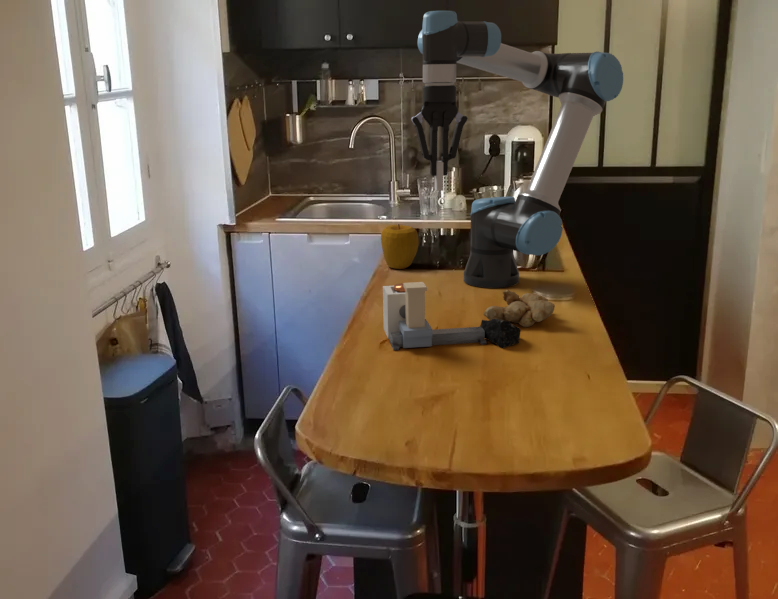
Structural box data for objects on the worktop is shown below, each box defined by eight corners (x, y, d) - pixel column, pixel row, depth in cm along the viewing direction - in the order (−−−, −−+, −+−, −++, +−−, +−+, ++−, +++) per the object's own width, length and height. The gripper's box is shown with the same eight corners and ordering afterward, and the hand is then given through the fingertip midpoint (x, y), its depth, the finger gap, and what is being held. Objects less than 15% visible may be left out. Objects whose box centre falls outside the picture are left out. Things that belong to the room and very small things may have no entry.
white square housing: (418, 326, 180) (418, 284, 177) (424, 337, 173) (424, 293, 170) (383, 328, 178) (382, 286, 176) (388, 339, 171) (387, 295, 169)
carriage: (425, 336, 172) (425, 279, 168) (432, 347, 165) (432, 288, 162) (398, 338, 171) (398, 281, 167) (404, 349, 164) (403, 290, 161)
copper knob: (410, 308, 176) (410, 282, 175) (413, 314, 173) (413, 287, 171) (393, 309, 176) (392, 283, 174) (395, 315, 172) (395, 288, 170)
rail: (479, 335, 173) (479, 324, 172) (486, 344, 167) (486, 333, 167) (389, 340, 170) (389, 330, 170) (393, 350, 165) (393, 339, 164)
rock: (499, 331, 177) (500, 306, 175) (528, 344, 168) (529, 318, 166) (473, 336, 173) (474, 310, 172) (501, 350, 165) (502, 323, 163)
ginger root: (565, 309, 187) (564, 279, 183) (549, 344, 174) (547, 313, 171) (502, 304, 193) (499, 275, 190) (482, 337, 181) (478, 307, 177)
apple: (425, 265, 235) (425, 222, 231) (406, 273, 226) (405, 229, 223) (393, 261, 241) (393, 219, 237) (374, 268, 232) (373, 225, 228)
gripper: (463, 83, 180) (462, 186, 187) (407, 84, 179) (408, 188, 185) (471, 84, 173) (470, 191, 180) (413, 85, 171) (414, 193, 178)
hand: (438, 189), depth 183 cm, fingers closed
